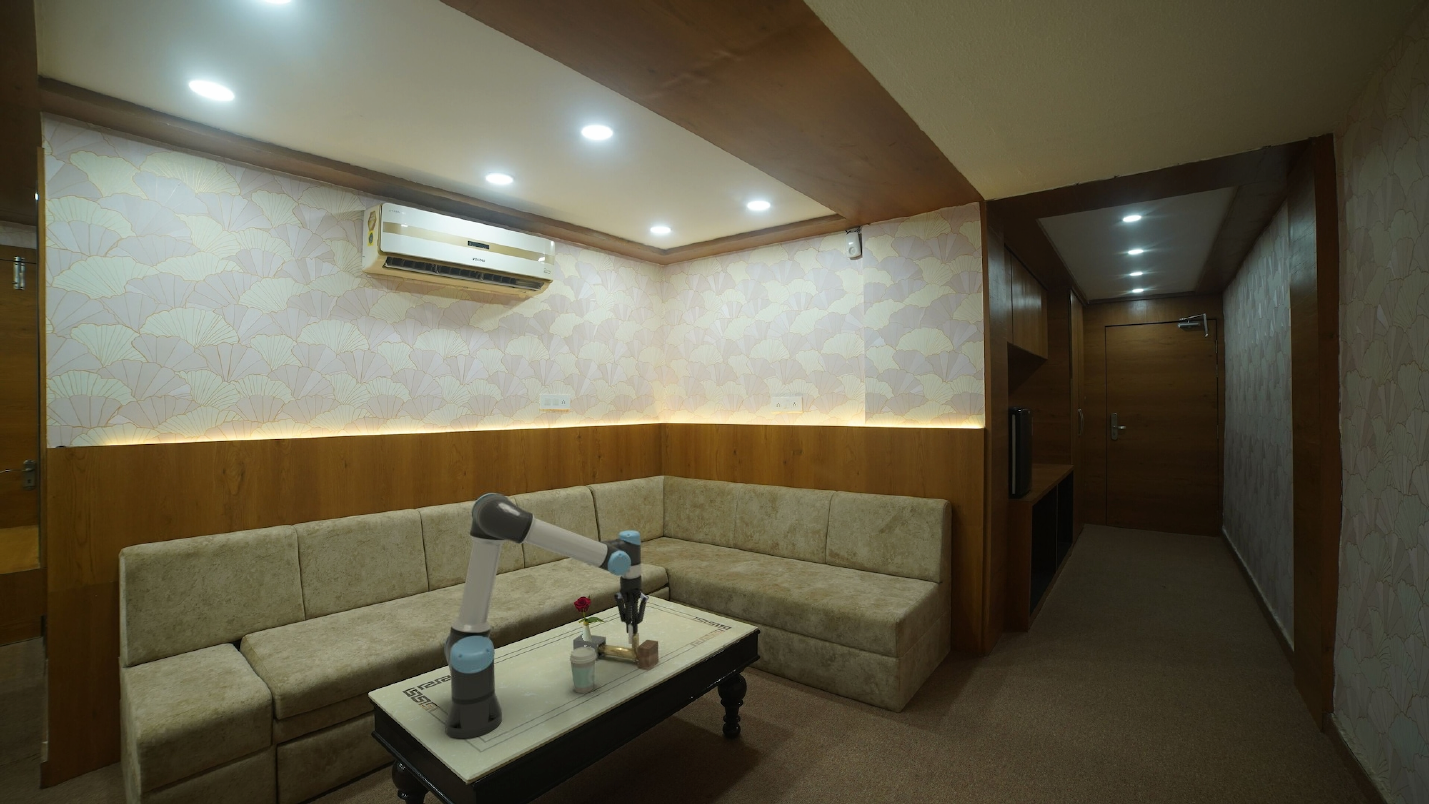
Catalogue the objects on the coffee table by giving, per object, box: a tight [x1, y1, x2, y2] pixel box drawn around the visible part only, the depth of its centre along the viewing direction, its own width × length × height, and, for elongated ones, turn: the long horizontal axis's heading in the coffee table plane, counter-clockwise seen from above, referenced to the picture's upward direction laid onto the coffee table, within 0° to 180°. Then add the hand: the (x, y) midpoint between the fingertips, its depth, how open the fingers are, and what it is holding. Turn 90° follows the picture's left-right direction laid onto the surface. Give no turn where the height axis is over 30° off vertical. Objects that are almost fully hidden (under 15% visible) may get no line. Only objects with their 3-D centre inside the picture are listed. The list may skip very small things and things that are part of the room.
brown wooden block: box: [637, 639, 659, 671], centre depth 209 cm, size 4×7×7 cm, turn 159°
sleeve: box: [572, 633, 607, 662], centre depth 217 cm, size 10×6×6 cm, turn 69°
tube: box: [598, 632, 640, 662], centre depth 213 cm, size 23×3×9 cm, turn 69°
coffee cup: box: [569, 647, 597, 694], centre depth 192 cm, size 9×8×12 cm
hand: (632, 642), depth 211 cm, fingers closed
